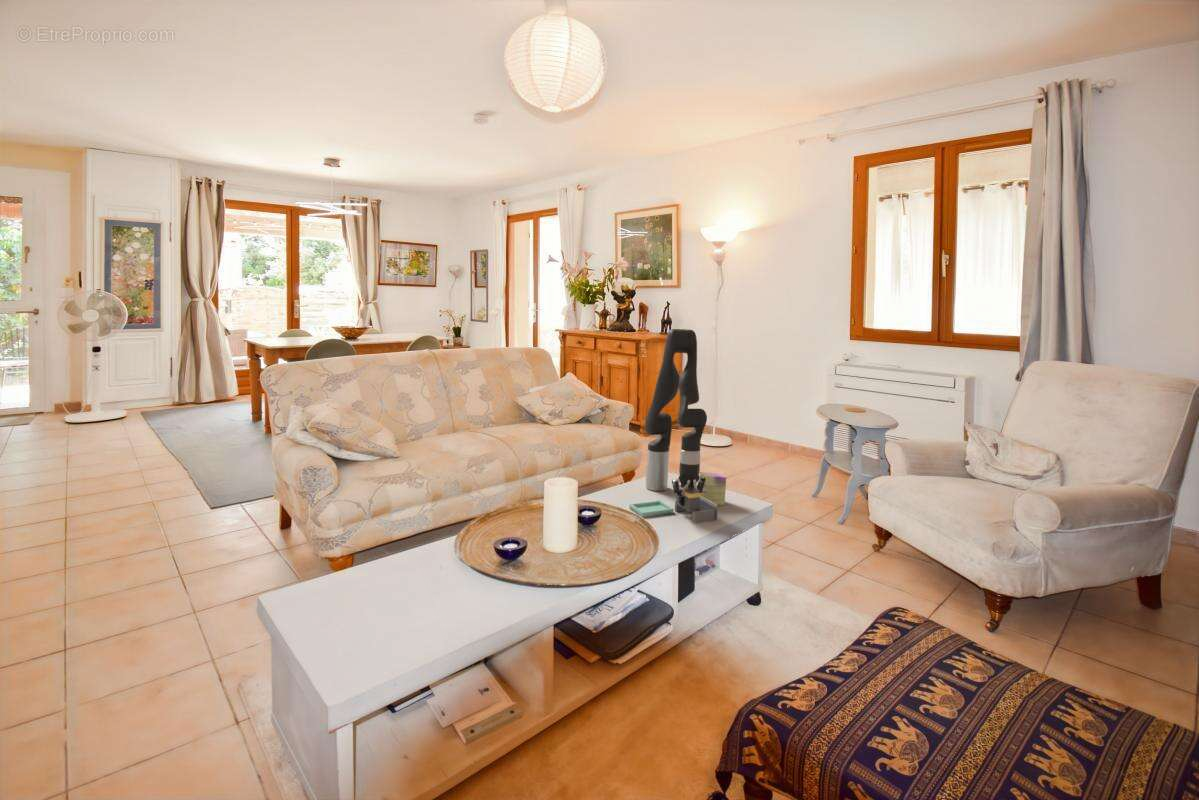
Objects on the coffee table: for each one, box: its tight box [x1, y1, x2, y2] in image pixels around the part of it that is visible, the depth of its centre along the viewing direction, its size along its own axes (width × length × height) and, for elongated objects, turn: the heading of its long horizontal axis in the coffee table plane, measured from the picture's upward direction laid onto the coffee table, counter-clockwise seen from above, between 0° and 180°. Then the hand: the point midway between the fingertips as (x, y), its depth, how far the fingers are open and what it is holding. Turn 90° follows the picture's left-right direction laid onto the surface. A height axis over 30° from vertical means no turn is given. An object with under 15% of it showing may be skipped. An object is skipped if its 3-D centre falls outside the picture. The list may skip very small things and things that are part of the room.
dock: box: [674, 496, 719, 524], centre depth 226 cm, size 14×10×6 cm
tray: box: [629, 499, 675, 518], centre depth 230 cm, size 11×14×2 cm
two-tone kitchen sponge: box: [675, 484, 700, 513], centre depth 224 cm, size 9×5×8 cm, turn 24°
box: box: [699, 471, 727, 506], centre depth 242 cm, size 10×6×12 cm, turn 84°
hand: (687, 504), depth 225 cm, fingers closed on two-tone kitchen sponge, 4 cm apart
